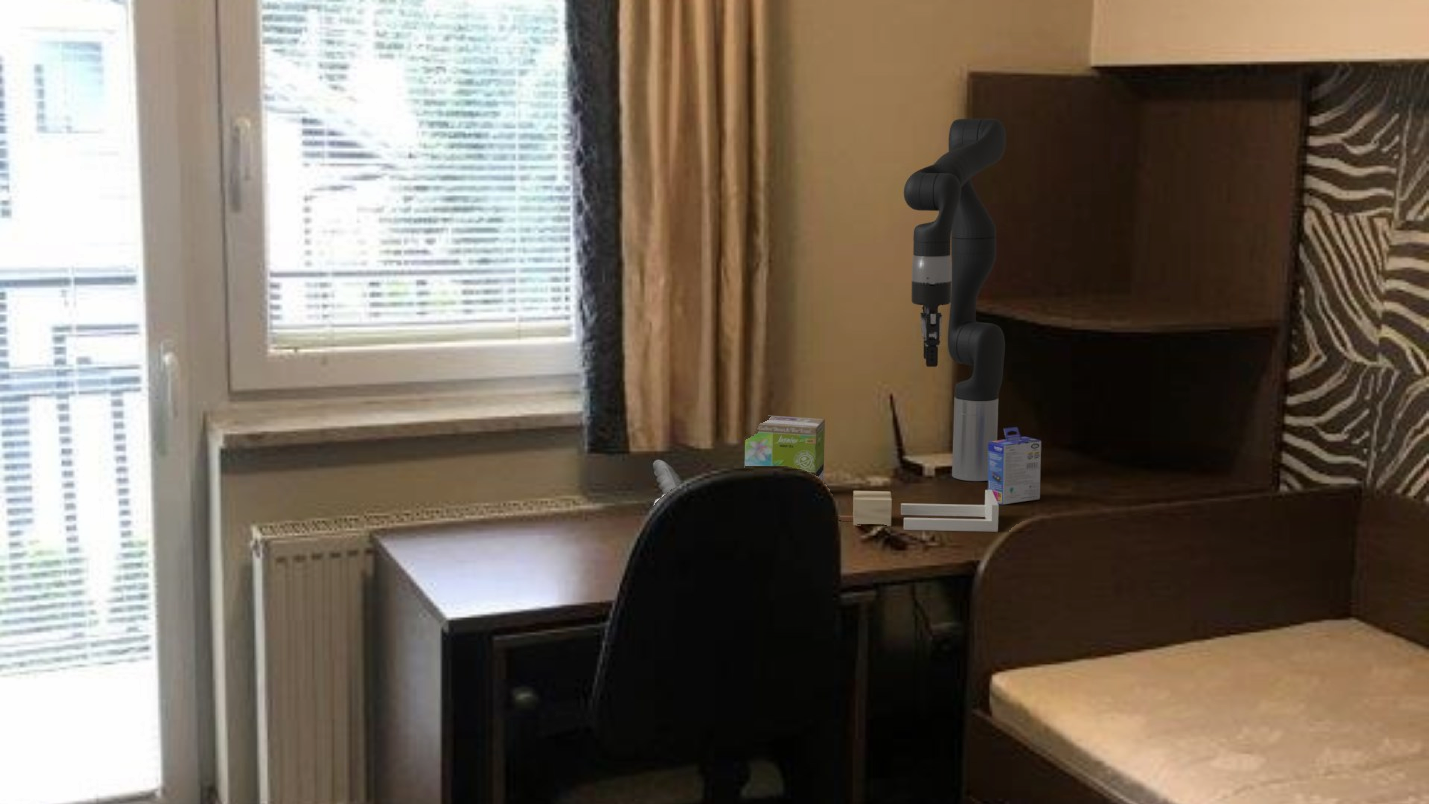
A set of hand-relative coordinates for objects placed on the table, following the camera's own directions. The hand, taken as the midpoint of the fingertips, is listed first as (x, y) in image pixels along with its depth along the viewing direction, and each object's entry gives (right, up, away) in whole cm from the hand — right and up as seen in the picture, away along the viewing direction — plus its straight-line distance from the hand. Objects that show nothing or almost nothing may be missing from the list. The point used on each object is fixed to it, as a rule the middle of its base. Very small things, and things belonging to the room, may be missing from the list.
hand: (930, 362), depth 297 cm
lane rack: (+2, -30, -6) cm, 31 cm away
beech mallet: (-19, -30, -5) cm, 36 cm away
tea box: (-27, -26, +20) cm, 43 cm away
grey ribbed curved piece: (-51, -30, -1) cm, 59 cm away
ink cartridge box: (+18, -27, +12) cm, 35 cm away
